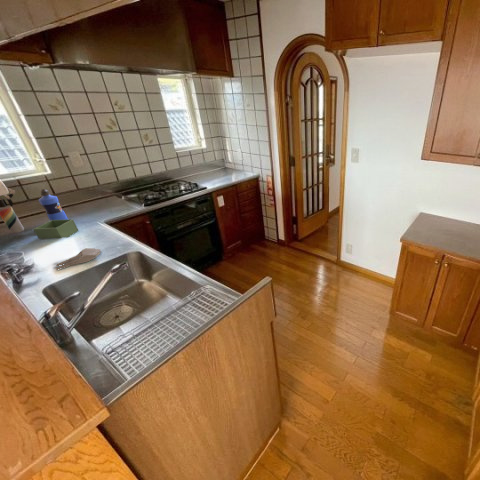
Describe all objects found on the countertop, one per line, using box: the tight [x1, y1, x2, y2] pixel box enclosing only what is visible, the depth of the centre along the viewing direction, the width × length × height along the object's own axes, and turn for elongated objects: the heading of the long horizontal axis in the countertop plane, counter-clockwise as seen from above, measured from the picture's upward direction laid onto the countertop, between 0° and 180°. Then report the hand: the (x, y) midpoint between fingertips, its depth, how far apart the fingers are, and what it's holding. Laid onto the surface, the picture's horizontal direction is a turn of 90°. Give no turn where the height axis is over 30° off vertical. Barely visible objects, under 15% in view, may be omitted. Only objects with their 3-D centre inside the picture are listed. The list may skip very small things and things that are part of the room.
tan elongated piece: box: [55, 247, 101, 271], centre depth 142 cm, size 10×20×5 cm, turn 133°
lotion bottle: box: [0, 197, 25, 234], centre depth 149 cm, size 6×6×20 cm
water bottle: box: [38, 189, 69, 221], centre depth 183 cm, size 9×9×25 cm
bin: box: [32, 218, 79, 240], centre depth 169 cm, size 14×14×9 cm
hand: (3, 207), depth 147 cm, fingers closed on lotion bottle, 5 cm apart
